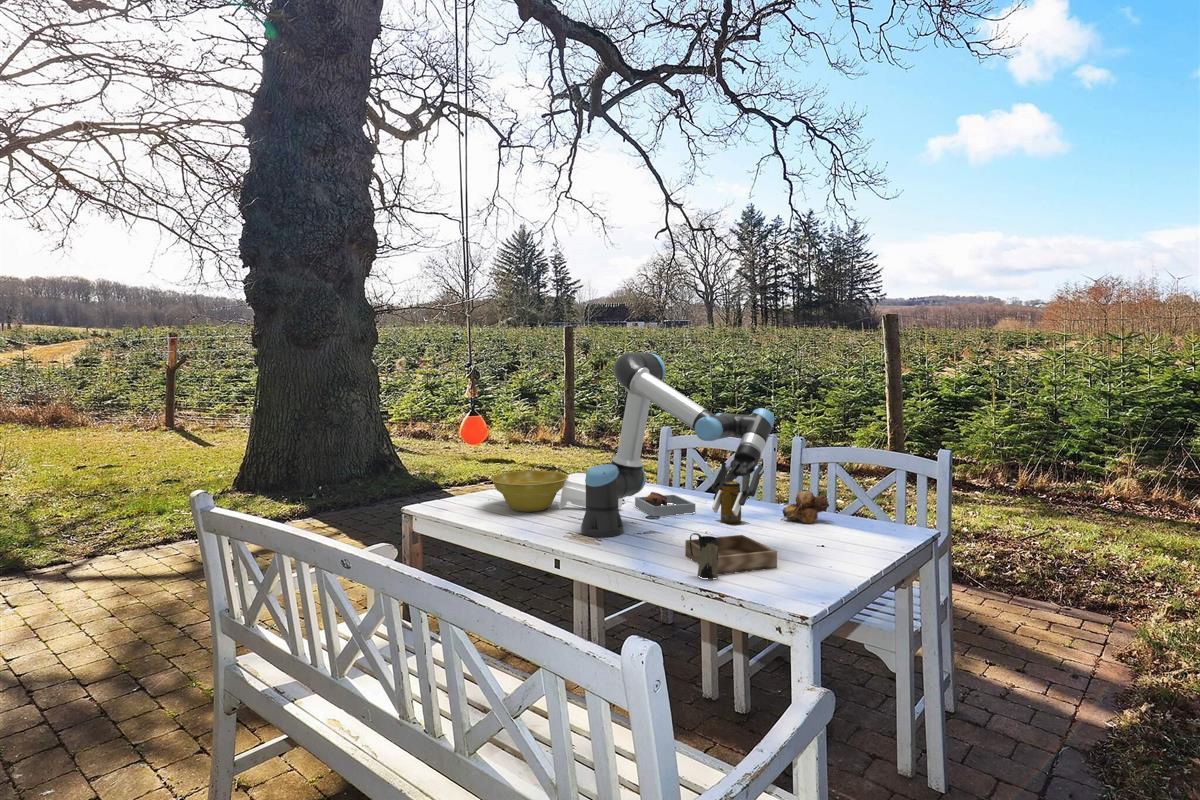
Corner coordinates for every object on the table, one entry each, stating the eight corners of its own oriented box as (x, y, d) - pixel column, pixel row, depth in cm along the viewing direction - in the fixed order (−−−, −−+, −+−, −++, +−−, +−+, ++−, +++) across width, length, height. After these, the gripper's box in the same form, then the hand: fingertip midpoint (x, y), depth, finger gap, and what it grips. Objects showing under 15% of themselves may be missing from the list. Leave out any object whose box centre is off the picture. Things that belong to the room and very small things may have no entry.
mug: (720, 575, 191) (720, 533, 190) (715, 581, 186) (715, 538, 185) (693, 572, 194) (693, 530, 194) (687, 577, 189) (687, 535, 188)
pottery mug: (638, 509, 279) (645, 491, 282) (658, 518, 281) (665, 500, 283) (647, 508, 268) (655, 488, 270) (668, 517, 269) (675, 498, 272)
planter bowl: (537, 520, 258) (537, 486, 257) (474, 511, 275) (473, 479, 274) (583, 505, 286) (583, 473, 285) (523, 497, 302) (522, 468, 302)
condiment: (733, 518, 208) (733, 479, 207) (751, 524, 200) (751, 484, 200) (714, 521, 205) (713, 481, 204) (731, 527, 197) (731, 486, 196)
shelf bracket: (560, 507, 282) (566, 478, 281) (618, 521, 279) (624, 491, 278) (557, 510, 276) (563, 480, 275) (617, 524, 273) (623, 494, 272)
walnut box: (715, 575, 191) (715, 557, 191) (685, 556, 210) (685, 540, 210) (777, 568, 197) (777, 551, 197) (742, 550, 216) (742, 534, 216)
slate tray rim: (653, 517, 263) (653, 507, 263) (635, 506, 282) (635, 497, 282) (695, 513, 268) (695, 503, 268) (674, 503, 287) (674, 494, 287)
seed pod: (831, 510, 243) (828, 490, 257) (786, 499, 246) (786, 480, 259) (821, 540, 249) (819, 519, 262) (777, 529, 251) (778, 508, 265)
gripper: (781, 460, 208) (757, 523, 196) (726, 455, 220) (700, 514, 208) (774, 445, 204) (749, 508, 192) (718, 441, 216) (691, 500, 204)
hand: (724, 511), depth 200 cm, fingers closed on condiment, 6 cm apart
